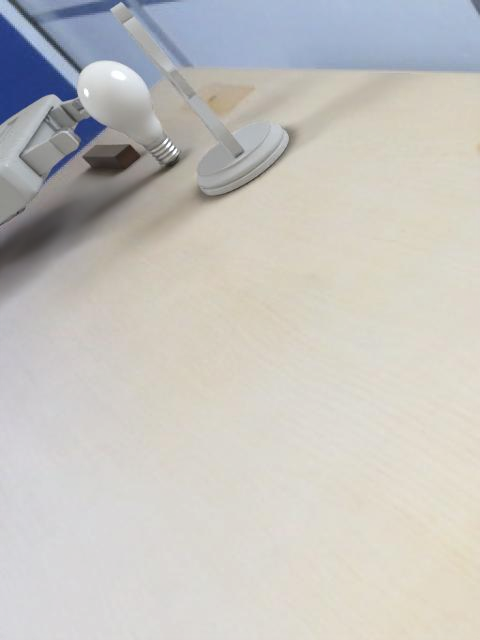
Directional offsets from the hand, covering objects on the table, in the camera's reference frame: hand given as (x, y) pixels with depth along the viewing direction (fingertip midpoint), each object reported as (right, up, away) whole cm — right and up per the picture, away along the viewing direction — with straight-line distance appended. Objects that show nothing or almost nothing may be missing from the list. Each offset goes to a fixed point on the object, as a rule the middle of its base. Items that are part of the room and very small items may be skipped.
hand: (84, 118), depth 76 cm
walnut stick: (-6, +1, +14) cm, 16 cm away
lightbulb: (+6, -2, +6) cm, 9 cm away
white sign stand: (+18, -6, -3) cm, 20 cm away
